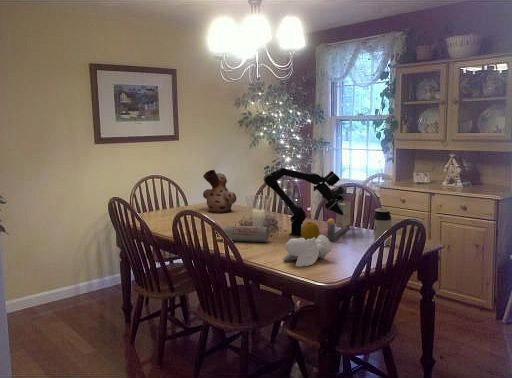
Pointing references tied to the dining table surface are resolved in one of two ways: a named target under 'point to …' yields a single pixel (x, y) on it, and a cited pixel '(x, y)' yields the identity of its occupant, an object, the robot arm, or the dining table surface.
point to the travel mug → (382, 223)
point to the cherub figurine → (307, 250)
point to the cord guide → (331, 230)
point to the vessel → (218, 193)
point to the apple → (310, 230)
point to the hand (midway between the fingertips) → (345, 213)
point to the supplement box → (345, 218)
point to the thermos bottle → (247, 233)
